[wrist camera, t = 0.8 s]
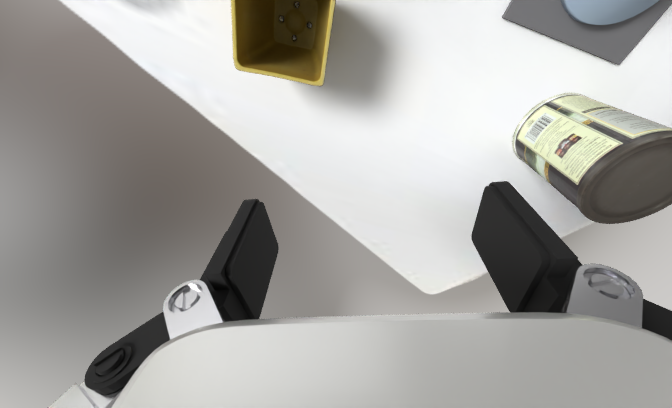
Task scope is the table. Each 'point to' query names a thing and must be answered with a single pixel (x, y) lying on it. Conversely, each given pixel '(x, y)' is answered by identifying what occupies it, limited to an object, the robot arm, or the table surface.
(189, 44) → the table surface
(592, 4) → the lid
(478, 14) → the table surface
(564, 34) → the mat
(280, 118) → the table surface
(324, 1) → the flower pot
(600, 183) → the coffee can
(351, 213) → the table surface
